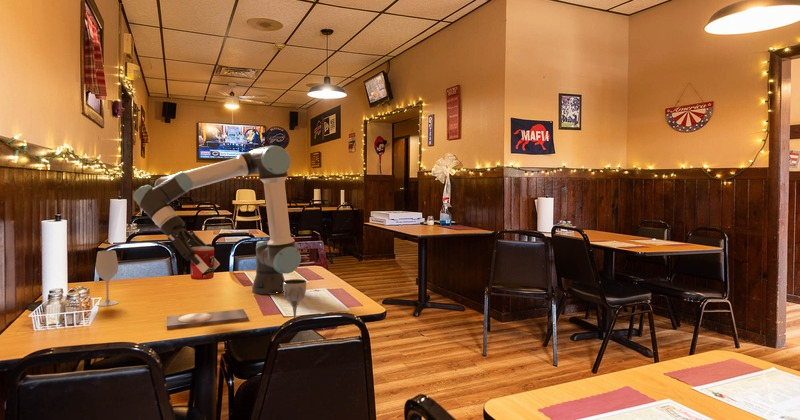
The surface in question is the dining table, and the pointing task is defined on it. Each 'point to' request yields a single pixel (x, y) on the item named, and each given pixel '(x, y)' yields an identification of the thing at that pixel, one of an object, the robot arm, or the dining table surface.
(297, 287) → the wine glass
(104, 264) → the wineglass
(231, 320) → the serving board
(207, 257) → the canned food
